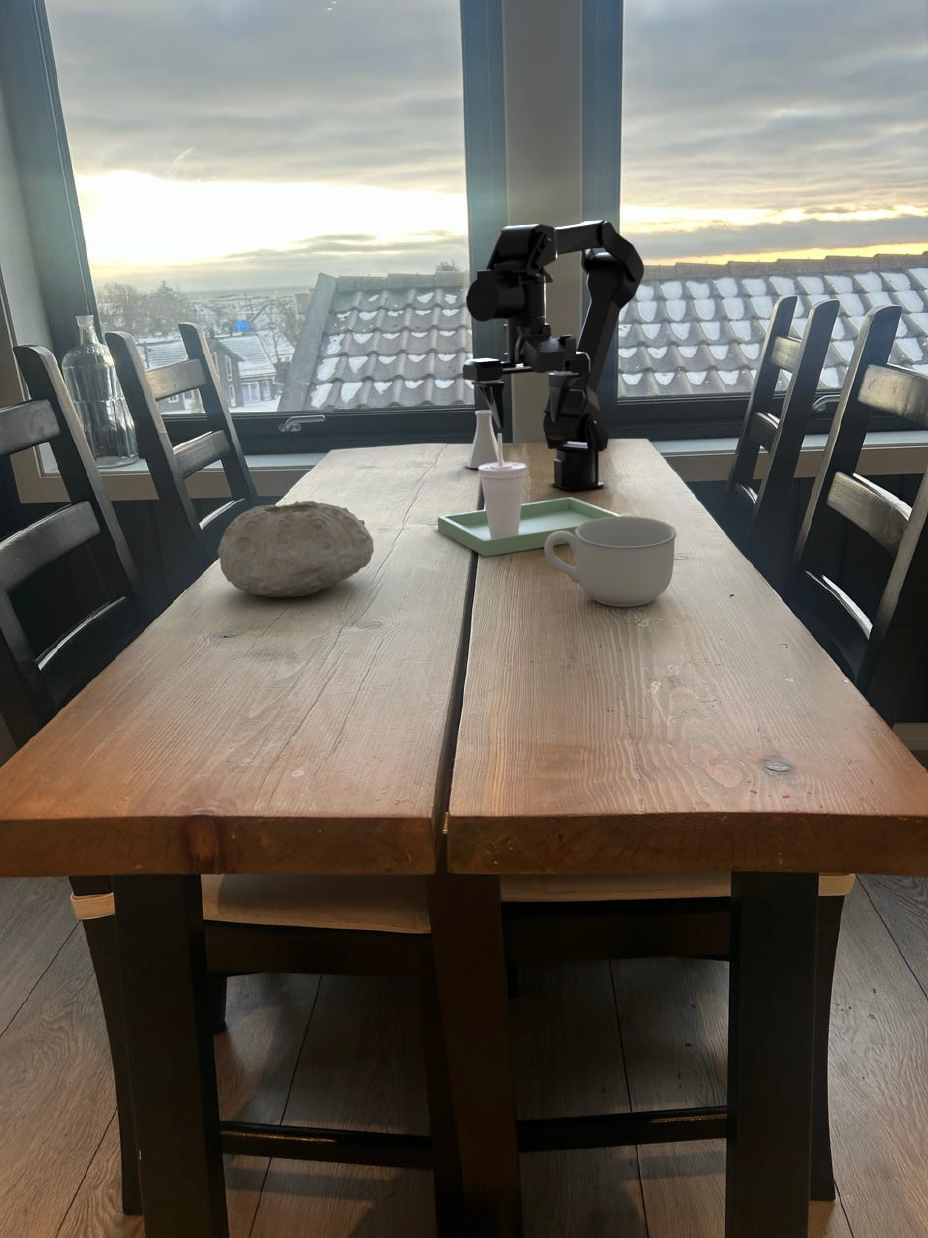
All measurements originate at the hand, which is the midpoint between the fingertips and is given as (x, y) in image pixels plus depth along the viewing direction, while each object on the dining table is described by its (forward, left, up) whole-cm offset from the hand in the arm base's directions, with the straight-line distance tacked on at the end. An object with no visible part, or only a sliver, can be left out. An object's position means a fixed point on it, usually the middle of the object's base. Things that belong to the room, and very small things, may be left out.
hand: (528, 424), depth 151 cm
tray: (+8, +16, -12) cm, 22 cm away
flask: (-7, -31, -12) cm, 34 cm away
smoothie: (+13, +18, -12) cm, 26 cm away
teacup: (+14, +46, -12) cm, 50 cm away
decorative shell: (+43, +24, -12) cm, 51 cm away
